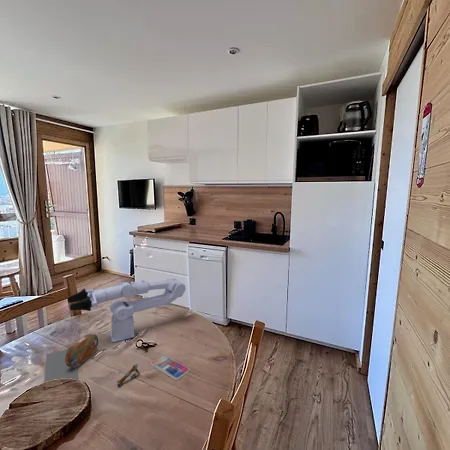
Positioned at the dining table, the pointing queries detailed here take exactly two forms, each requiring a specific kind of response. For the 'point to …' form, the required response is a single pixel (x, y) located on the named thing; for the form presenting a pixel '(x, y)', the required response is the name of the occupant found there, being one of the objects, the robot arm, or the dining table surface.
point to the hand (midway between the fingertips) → (68, 303)
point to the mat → (58, 367)
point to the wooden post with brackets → (129, 374)
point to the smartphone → (170, 367)
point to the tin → (81, 350)
